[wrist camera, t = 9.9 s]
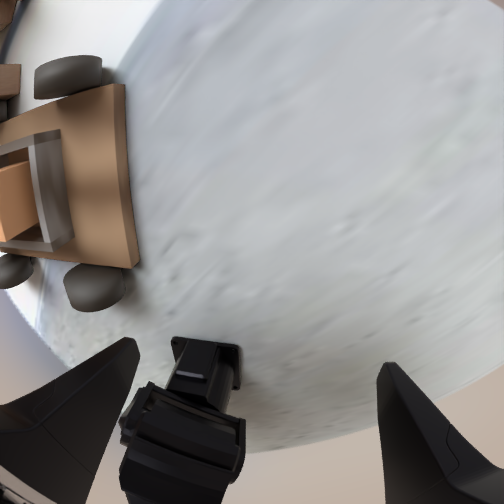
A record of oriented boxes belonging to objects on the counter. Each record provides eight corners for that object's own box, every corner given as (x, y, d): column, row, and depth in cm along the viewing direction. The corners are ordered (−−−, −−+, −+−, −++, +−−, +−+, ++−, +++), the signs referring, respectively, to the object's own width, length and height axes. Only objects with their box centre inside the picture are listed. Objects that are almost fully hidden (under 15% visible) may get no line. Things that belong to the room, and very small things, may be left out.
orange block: (54, 213, 20) (6, 242, 15) (23, 213, 21) (-21, 239, 15) (46, 156, 18) (-8, 174, 13) (15, 163, 19) (-33, 181, 13)
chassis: (144, 282, 24) (113, 321, 19) (13, 262, 26) (-16, 285, 21) (125, 57, 16) (78, 47, 11) (-11, 113, 18) (-48, 122, 13)
